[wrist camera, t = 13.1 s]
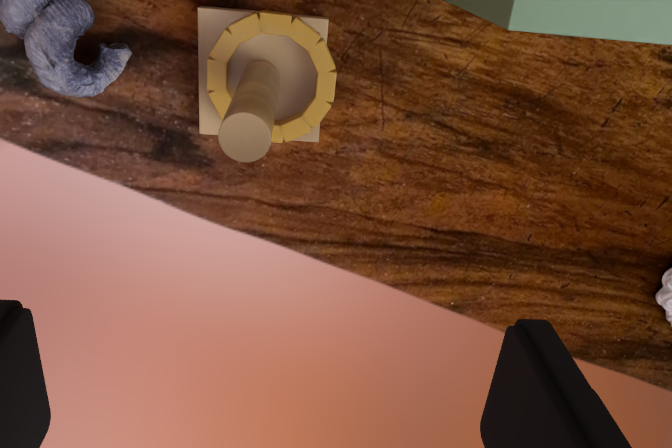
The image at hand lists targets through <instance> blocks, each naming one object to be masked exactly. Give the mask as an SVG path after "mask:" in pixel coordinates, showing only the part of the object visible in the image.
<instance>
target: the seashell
mask: <svg viewBox="0 0 672 448" xmlns="http://www.w3.org/2000/svg"><path fill="white" fill-rule="evenodd" d="M94 18H95V15H94V12H93V10H92V8H91V5H90V4H89V3H88V2H87V1H86V0H0V20H1V22H2V23H3V25H4V27H5V28H6V29H5V31H7V32H8V33H12V34H14V35H17V36H18V37H19V39H24V41H25V42H24V44H25V49H26V56H27V57H28V59H29V61H30V64H31V67H32V68H33V70H34V72H35V73H36V76H37V78H38V79H39V81H40V82H41V84H42V86H43V87H44V88H49V89H51V90H52V91H53V92H54V93H59V94H61V95H69V96H77V97H78V98H81V97H85V96H89V97H93V96H94V95H96V94H99V93H101V92H103V90H104V88H105V87H107V86H108V85H109V84H110V83H112V82H113V81H115V80H116V79H117V77H118V76H119V75H120V74H121V73H122V71H123V70H124V68H125V66H126V62H127V61H128V59H129V58H130V56H131V55H132V52H131V51H130V49H129V47H128V46H127V45H126V44H121V43H117V42H115V43H112V44H111V45H107V44H105V43H100V44H99V47H100V53H99V56H98V57H97V58H96V60H95V61H94V62H93V63H92V64H90V65H85V64H81V63H79V62H77V61H75V60H74V58H73V56H74V49H75V47H76V40H77V39H79V36H82V35H84V32H85V31H88V28H90V27H92V26H93V22H94Z"/></svg>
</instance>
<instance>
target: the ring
mask: <svg viewBox="0 0 672 448" xmlns="http://www.w3.org/2000/svg"><path fill="white" fill-rule="evenodd" d="M262 33H263V34H273V35H282V36H288V37H289V38H290V39H292V40H293V41H294V42H296V43H297V44H299V45H300V46H301V47H303V48H304V49H305V50H307V51H308V54H309V56H310V58H311V60H312V62H313V65H314V67H315V69H316V71H317V76H316V86H315V94H314V95H313V96H312V98H311V99H310V101H309V102H308V103H307V105H306V106H305V107H304V109H303V110H302V112H299V113H297V114H295V115H293V116H290V117H288V118H286V119H284V120H281V121H279V120H274V124H273V131H272V137H271V142H275V143H282V142H283V138H284V140H285V142H289V141H291V140H293V139H296V138H298V137H300V136H302V135H305V134H307V133H309V132H311V131H312V127H313V128H316V127H317V125H318V124H319V123H320V121H321V120H322V119H323V117H324V116H325V115H326V113H327V112H328V111H329V109H330V108H331V107H332V104H331V102H333V101H334V93H335V84H336V75H337V73H336V69H335V68H336V66H335V63H334V61H333V58H332V56H331V54H330V51H329V49H328V47H327V44H326V42H325V40H324V38H321V35H320V33H319V32H318V31H316V30H315V29H314V28H313V27H311V26H310V25H309V24H307V23H306V22H305V21H303V20H302V19H301V18H299V17H298V16H295V17H294V18H293V20H292V13H285V12H276V11H267V10H261V12H260V15H259V13H258V11H255V12H253V13H251V14H249V15H247V16H245V17H243V18H241V19H238V20H236V21H234V22H232V23H230V25H229V26H228V27H226V28H225V29H224V31H223V32H222V34H221V35H220V37H219V39H218V40H217V42H216V43H215V45H214V47H213V48H212V50H211V51H210V53H209V58H208V59H207V90H210V91H209V93H208V95H209V97H210V99H211V101H212V102H213V104H214V106H215V108H216V110H217V112H218V113H219V115H220V117H221V119H222V120H223V118H224V116H225V114H226V111H227V109H228V107H229V104H230V102H231V100H232V97H233V93H232V91H231V89H230V87H229V85H228V73H229V60H230V58H231V57H232V55H233V54H234V52H235V51H236V49H237V48H238V46H239V44H241V43H243V42H245V41H247V40H249V39H251V38H253V37H255V36H258V35H260V34H262Z"/></svg>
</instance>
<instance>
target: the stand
mask: <svg viewBox="0 0 672 448" xmlns="http://www.w3.org/2000/svg"><path fill="white" fill-rule="evenodd" d="M444 1H446V2H449V3H451V4H453V5H455V6H457V7H459V8H462V9H464V10H466V11H468V12H470V13H472V14H475V15H477V16H479V17H481V18H483V19H485V20H487V21H490V22H492V23H494V24H496V25H498V26H500V27H503V28H505V29H507V30H512V31H523V32H534V33H545V34H556V35H567V36H578V37H588V38H599V39H610V40H621V41H632V42H643V43H654V44H665V45H672V0H444Z"/></svg>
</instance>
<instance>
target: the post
mask: <svg viewBox="0 0 672 448" xmlns="http://www.w3.org/2000/svg"><path fill="white" fill-rule="evenodd" d="M253 12H255V11H253V10H242V9H231V8H220V7H209V6H199V7H198V72H199V133H200V134H210V135H218V140H219V144H220V146H221V148H222V150H223V151H224V152H225V154H226V155H228V156H229V157H230V158H232V159H234V160H236V161H239V162H253V161H256V160H258V159H260V158H261V157H263V156H264V155H265V154H266V152H267V151H268V149H269V147H270V143H271V137H272V131H273V124H274V120H279V121H281V120H284V119H286V118H288V117H290V116H293V115H295V114H297V113H299V112H302V110H303V109H304V107H305V106H306V105H307V103H308V102H309V101H310V99H311V98H312V96H313V95H314V94H315V86H316V76H317V71H316V69H315V67H314V65H313V62H312V60H311V58H310V56H309V54H308V51H307V50H305V49H304V48H303V47H301V46H300V45H299V44H297V43H296V42H294V41H293V40H292V39H290V38H289V37H288V36H282V35H273V34H263V33H262V34H260V35H258V36H255V37H253V38H251V39H249V40H247V41H245V42H243V43H241V44H239V46H238V48H237V49H236V51H235V52H234V54H233V55H232V57H231V58H230V60H229V73H228V85H229V87H230V89H231V91H232V93H233V97H232V100H231V102H230V104H229V107H228V109H227V111H226V114H225V116H224V118H223V120H222V119H221V117H220V115H219V113H218V112H217V110H216V108H215V106H214V104H213V102H212V101H211V99H210V97H209V95H208V93H209V91H210V90H207V59H208V58H209V53H210V51H211V50H212V48H213V47H214V45H215V43H216V42H217V40H218V39H219V37H220V35H221V34H222V32H223V31H224V29H225V28H226V27H228V26H229V25H230V23H232V22H234V21H236V20H238V19H241V18H243V17H245V16H247V15H249V14H251V13H253ZM260 12H261V11H258V13H259V15H260ZM295 16H298V17H299V18H301V19H302V20H303V21H305V22H306V23H307V24H309V25H310V26H311V27H313V28H314V29H315V30H316V31H318V32H319V33H320V35H321V38H324V40H325V42H326V44H327V33H328V21H329V20H328V17H319V16H308V15H297V14H292V20H293V18H294V17H295ZM319 130H320V123H319V124H318V125H317V127H316V128H313V127H312V131H311V132H309V133H307V134H305V135H302V136H300V137H298V138H296V139H293V140H294V141H308V142H319ZM283 140H284V138H283Z"/></svg>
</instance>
